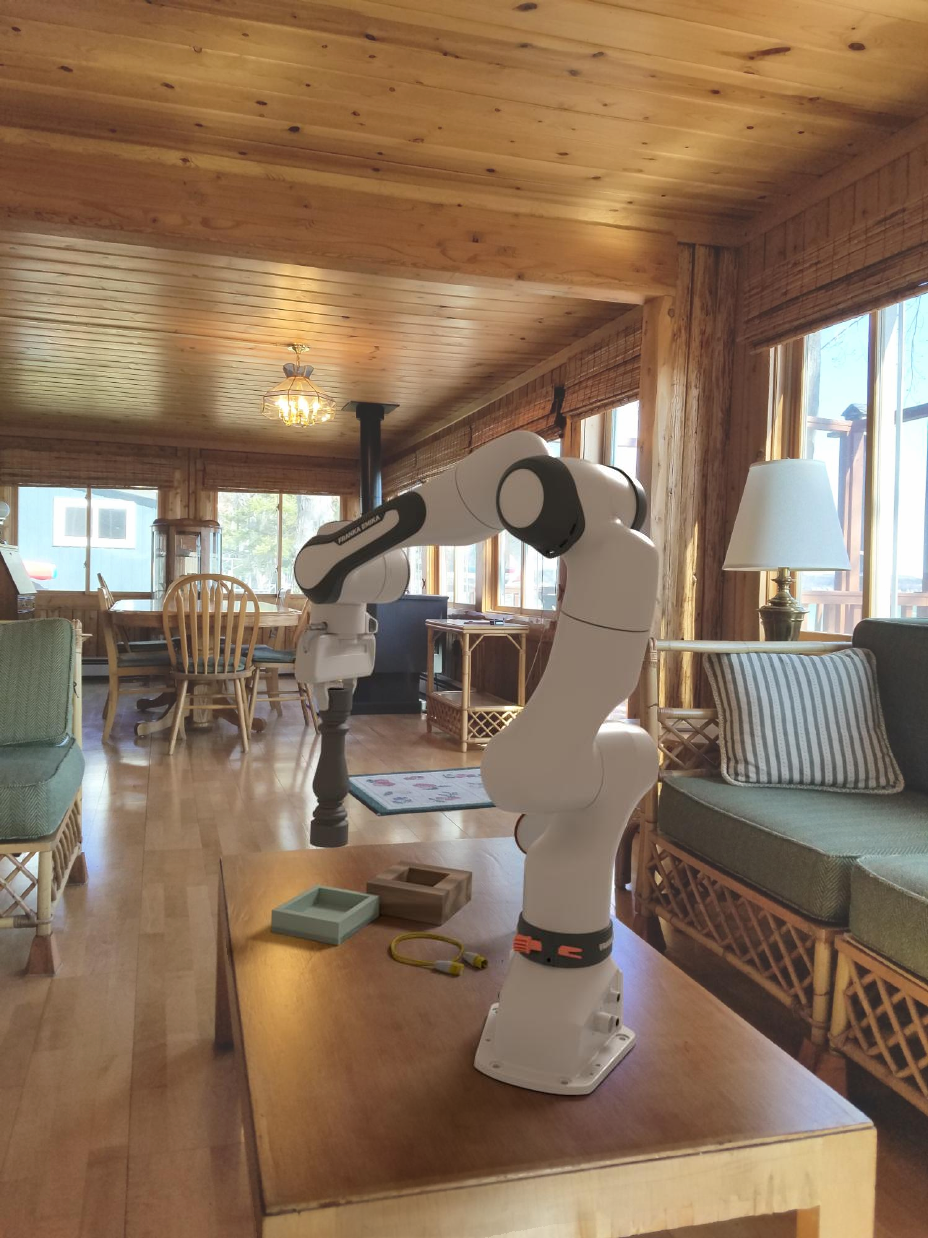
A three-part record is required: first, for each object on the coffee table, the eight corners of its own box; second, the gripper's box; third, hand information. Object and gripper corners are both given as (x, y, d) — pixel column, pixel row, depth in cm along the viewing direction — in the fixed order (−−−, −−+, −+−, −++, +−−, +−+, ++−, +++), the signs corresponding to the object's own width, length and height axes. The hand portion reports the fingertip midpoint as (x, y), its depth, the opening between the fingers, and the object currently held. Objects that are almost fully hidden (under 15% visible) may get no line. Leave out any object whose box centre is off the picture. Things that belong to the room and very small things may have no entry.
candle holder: (344, 849, 143) (351, 692, 142) (305, 846, 143) (312, 690, 142) (350, 838, 149) (357, 688, 148) (313, 836, 149) (319, 686, 148)
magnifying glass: (558, 923, 151) (563, 804, 150) (561, 926, 149) (567, 807, 149) (508, 924, 149) (514, 805, 149) (511, 928, 147) (516, 807, 147)
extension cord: (412, 985, 126) (413, 971, 126) (379, 943, 140) (380, 930, 140) (492, 975, 130) (492, 961, 130) (452, 935, 145) (453, 923, 145)
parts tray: (338, 945, 137) (338, 922, 137) (270, 932, 142) (271, 910, 142) (378, 916, 151) (379, 895, 150) (316, 904, 155) (316, 884, 155)
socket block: (441, 925, 148) (442, 895, 147) (365, 911, 153) (366, 882, 152) (471, 899, 161) (472, 871, 161) (400, 887, 166) (401, 860, 166)
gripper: (322, 624, 134) (319, 716, 134) (382, 622, 153) (379, 703, 153) (286, 622, 136) (283, 712, 137) (350, 620, 155) (347, 700, 156)
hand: (334, 707), depth 145 cm, fingers closed on candle holder, 6 cm apart
